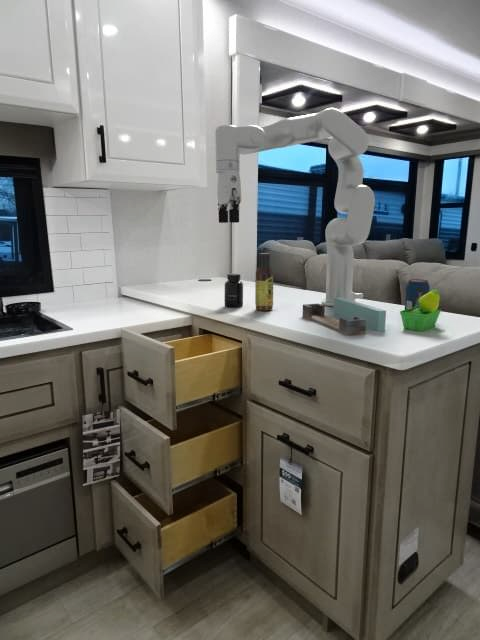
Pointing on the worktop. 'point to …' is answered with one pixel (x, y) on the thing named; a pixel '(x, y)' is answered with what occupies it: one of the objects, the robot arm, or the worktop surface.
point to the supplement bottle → (233, 291)
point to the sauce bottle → (264, 284)
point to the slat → (360, 313)
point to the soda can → (415, 292)
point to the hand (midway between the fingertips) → (228, 222)
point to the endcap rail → (343, 325)
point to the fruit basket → (422, 313)
